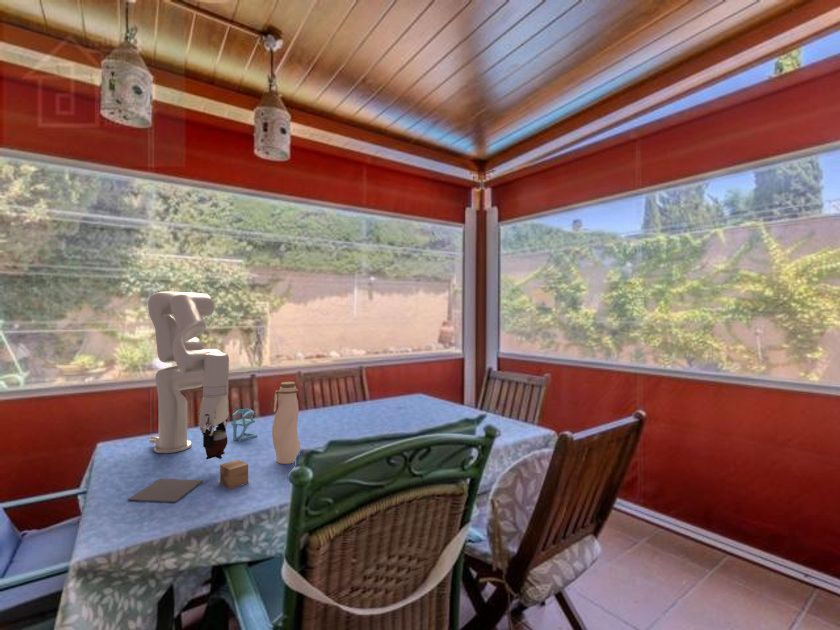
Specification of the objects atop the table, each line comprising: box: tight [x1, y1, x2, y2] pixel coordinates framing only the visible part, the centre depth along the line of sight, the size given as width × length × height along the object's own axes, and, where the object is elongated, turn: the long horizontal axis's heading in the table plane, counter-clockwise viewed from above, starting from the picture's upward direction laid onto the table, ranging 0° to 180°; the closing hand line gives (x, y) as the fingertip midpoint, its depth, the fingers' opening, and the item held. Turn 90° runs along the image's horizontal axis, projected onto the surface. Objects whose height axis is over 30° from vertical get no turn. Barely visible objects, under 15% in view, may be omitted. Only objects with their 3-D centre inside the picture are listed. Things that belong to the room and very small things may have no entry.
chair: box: [231, 407, 258, 442], centre depth 176 cm, size 8×8×12 cm
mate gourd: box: [197, 412, 229, 460], centre depth 140 cm, size 8×8×15 cm
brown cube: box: [219, 459, 249, 490], centre depth 133 cm, size 6×6×6 cm
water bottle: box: [270, 381, 301, 465], centre depth 152 cm, size 10×9×28 cm
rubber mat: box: [127, 478, 204, 503], centre depth 127 cm, size 14×14×1 cm
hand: (214, 442), depth 141 cm, fingers closed on mate gourd, 7 cm apart
